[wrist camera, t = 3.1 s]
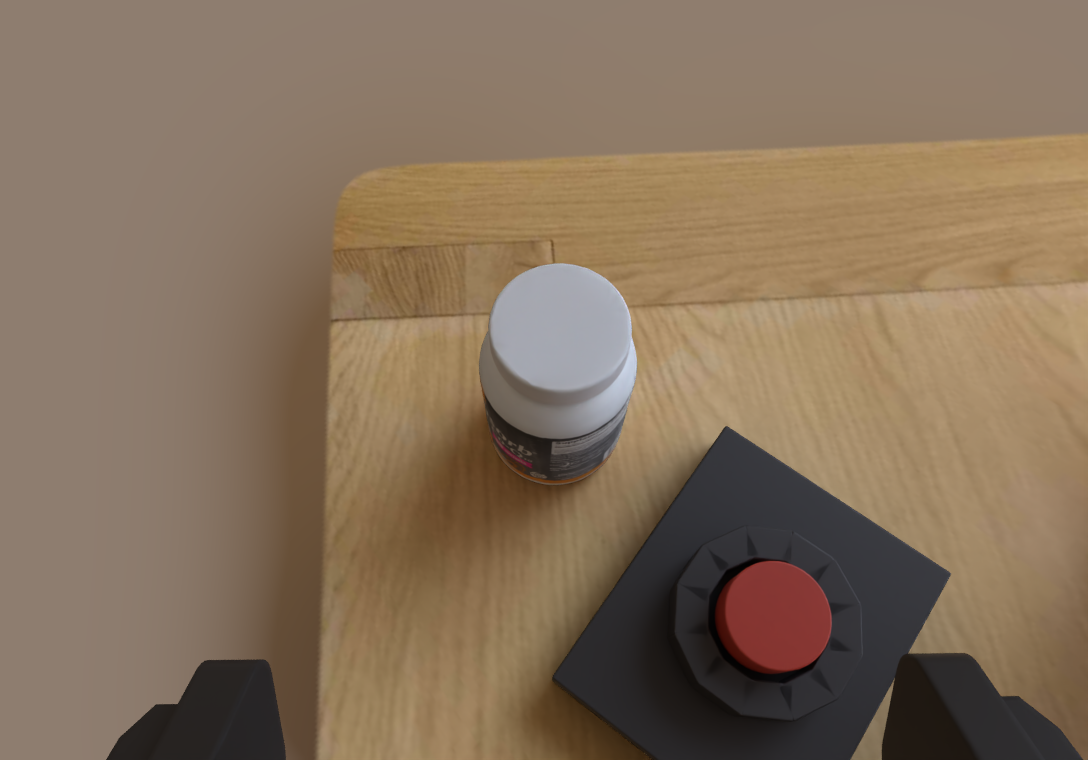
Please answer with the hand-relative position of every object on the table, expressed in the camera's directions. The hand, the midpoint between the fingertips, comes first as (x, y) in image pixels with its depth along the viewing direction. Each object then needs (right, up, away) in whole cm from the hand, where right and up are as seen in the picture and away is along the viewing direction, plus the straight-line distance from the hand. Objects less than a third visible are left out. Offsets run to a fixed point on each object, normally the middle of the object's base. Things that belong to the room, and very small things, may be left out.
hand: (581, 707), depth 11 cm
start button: (+7, -4, +19) cm, 20 cm away
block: (+7, -6, +22) cm, 24 cm away
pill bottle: (0, +2, +25) cm, 25 cm away
